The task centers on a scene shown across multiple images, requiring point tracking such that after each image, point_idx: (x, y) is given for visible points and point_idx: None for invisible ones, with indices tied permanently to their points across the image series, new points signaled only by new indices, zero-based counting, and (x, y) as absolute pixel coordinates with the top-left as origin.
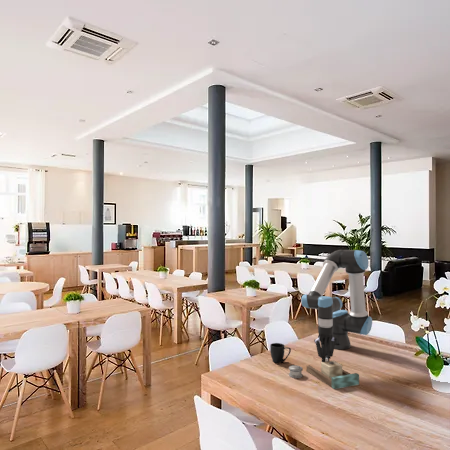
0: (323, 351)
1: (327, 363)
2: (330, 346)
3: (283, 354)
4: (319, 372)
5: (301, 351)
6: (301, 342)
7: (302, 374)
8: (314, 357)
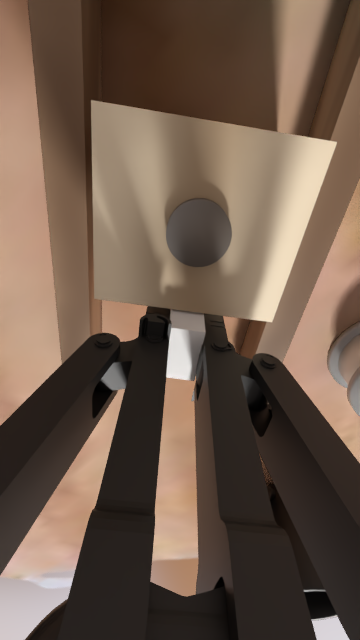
0: (246, 423)
1: (237, 263)
2: (46, 483)
3: (281, 527)
4: (308, 255)
5: (88, 519)
6: (27, 562)
7: (344, 338)
8: (72, 464)
